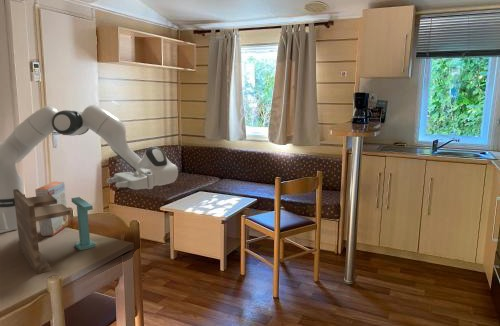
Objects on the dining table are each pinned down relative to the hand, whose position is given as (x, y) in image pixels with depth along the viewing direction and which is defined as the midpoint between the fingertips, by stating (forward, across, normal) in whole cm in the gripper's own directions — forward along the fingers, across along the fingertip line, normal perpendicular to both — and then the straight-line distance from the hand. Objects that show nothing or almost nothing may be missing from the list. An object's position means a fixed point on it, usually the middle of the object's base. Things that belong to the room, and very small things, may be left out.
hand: (111, 183), depth 158 cm
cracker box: (+17, -28, +24) cm, 40 cm away
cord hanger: (+12, 0, +24) cm, 27 cm away
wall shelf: (+26, 0, +24) cm, 36 cm away
